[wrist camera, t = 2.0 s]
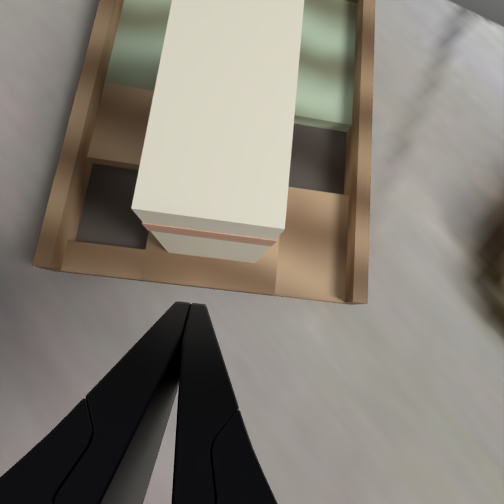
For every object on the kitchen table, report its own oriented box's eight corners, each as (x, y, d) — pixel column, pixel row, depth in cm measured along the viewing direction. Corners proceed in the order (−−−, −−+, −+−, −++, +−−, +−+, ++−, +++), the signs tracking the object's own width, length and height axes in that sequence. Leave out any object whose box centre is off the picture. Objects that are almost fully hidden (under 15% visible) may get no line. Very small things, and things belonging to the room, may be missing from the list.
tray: (350, 304, 22) (367, 303, 20) (54, 270, 20) (31, 265, 18) (361, 9, 28) (375, -20, 25) (128, -40, 26) (119, -76, 23)
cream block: (256, 264, 21) (285, 230, 12) (167, 253, 20) (129, 209, 11) (272, 110, 23) (306, -11, 14) (193, 97, 23) (178, -38, 14)
